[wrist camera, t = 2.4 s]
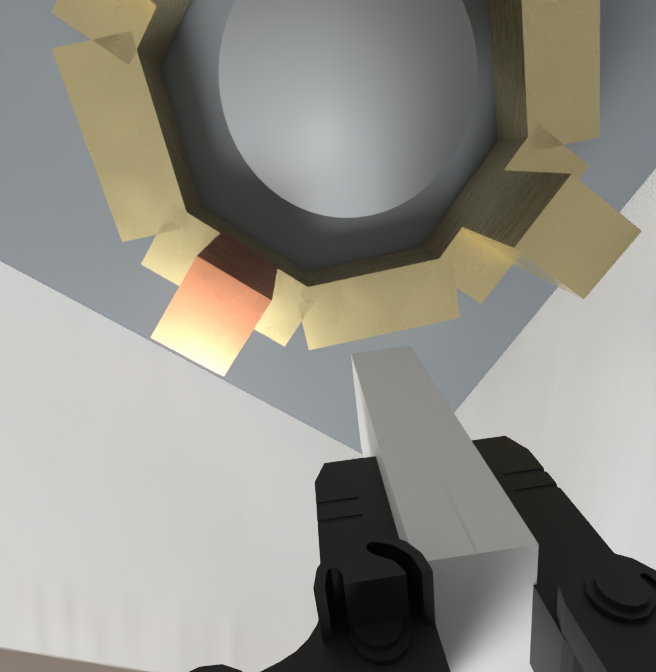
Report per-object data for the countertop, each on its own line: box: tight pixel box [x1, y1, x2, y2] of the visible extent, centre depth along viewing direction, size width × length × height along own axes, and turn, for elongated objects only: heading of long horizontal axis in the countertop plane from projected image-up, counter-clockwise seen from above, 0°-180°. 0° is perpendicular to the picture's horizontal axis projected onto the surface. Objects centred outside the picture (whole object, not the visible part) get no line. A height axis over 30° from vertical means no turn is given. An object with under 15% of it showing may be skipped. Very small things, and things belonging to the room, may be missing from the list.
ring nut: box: [51, 0, 641, 377], centre depth 14 cm, size 17×17×7 cm
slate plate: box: [0, 0, 656, 454], centre depth 16 cm, size 24×24×6 cm
